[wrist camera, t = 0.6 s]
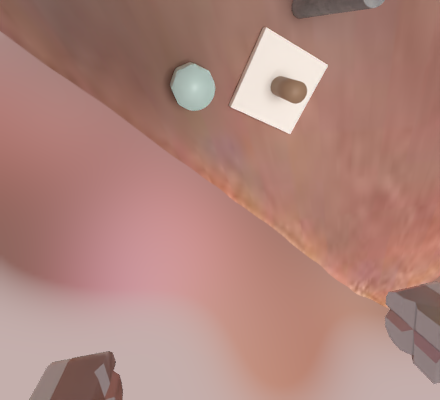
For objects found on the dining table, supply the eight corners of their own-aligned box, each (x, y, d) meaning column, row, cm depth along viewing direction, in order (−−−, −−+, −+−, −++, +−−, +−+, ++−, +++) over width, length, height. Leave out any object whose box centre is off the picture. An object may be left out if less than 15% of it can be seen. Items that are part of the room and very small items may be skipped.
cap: (179, 56, 44) (182, 57, 40) (215, 74, 46) (221, 77, 42) (165, 95, 46) (167, 100, 42) (200, 110, 49) (205, 116, 45)
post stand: (263, 27, 44) (284, 25, 37) (323, 64, 49) (353, 68, 42) (228, 105, 49) (241, 116, 42) (286, 131, 54) (307, 145, 47)
